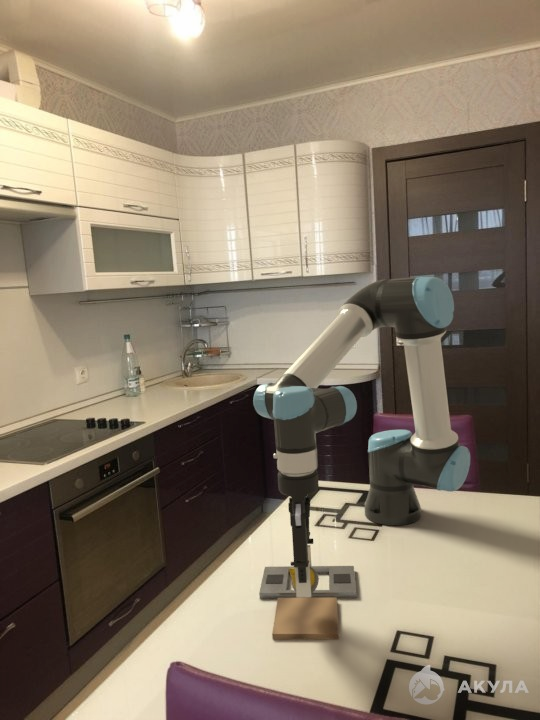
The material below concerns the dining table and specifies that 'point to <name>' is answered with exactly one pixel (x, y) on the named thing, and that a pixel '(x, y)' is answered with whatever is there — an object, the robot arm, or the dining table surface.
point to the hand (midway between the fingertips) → (304, 586)
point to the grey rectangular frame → (338, 588)
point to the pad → (306, 618)
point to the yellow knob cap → (313, 579)
